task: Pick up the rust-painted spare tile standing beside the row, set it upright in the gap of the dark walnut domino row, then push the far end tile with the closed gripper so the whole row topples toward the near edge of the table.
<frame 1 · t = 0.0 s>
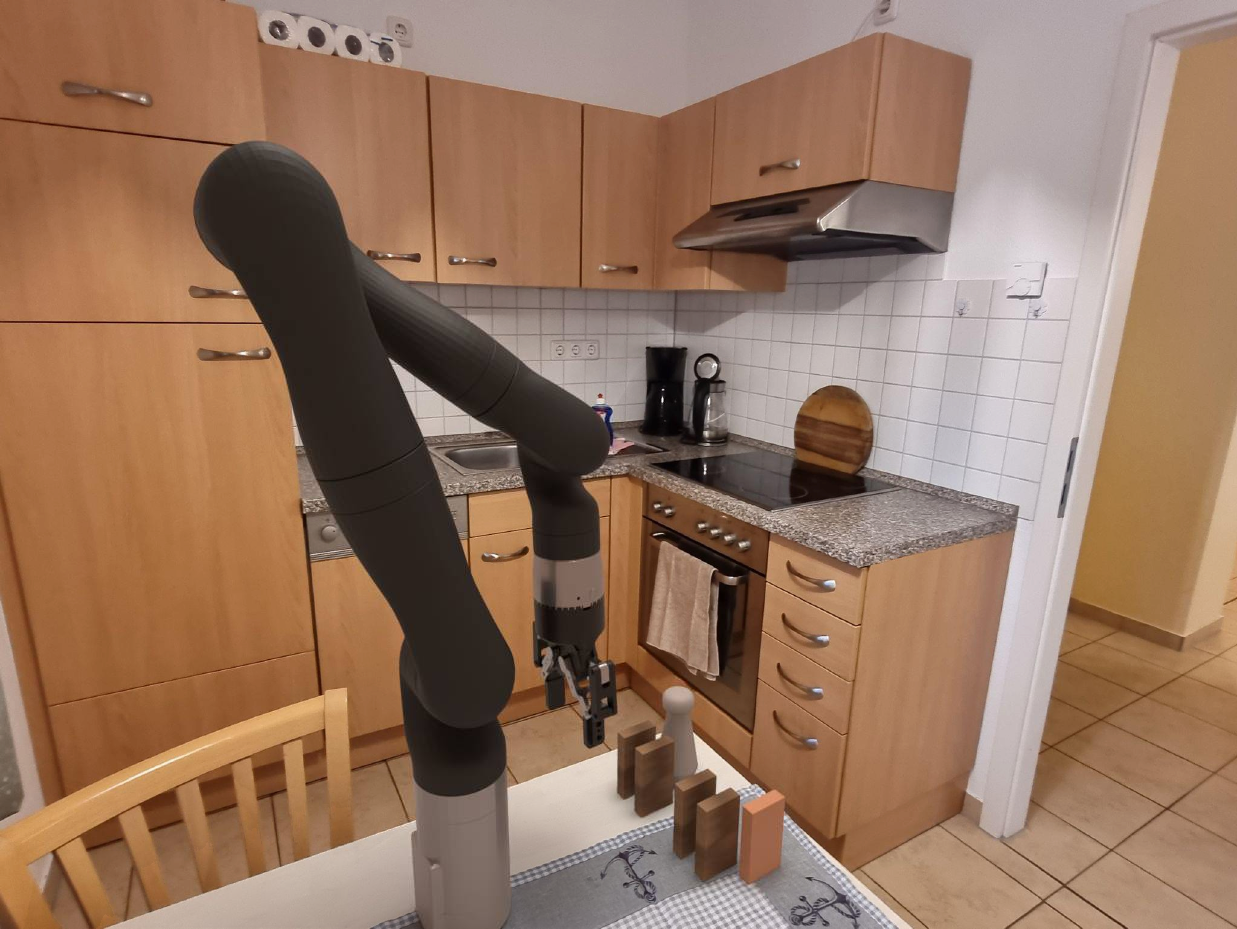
hand: (574, 725, 77), 17 cm above the table, tool pointing down, fingers open, 8 cm apart
domino 4: (693, 846, 82), on the table
domino 1: (636, 789, 92), on the table
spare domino: (759, 870, 79), on the table
domino 5: (715, 868, 79), on the table
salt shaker: (676, 778, 94), on the table
domino 2: (653, 806, 89), on the table
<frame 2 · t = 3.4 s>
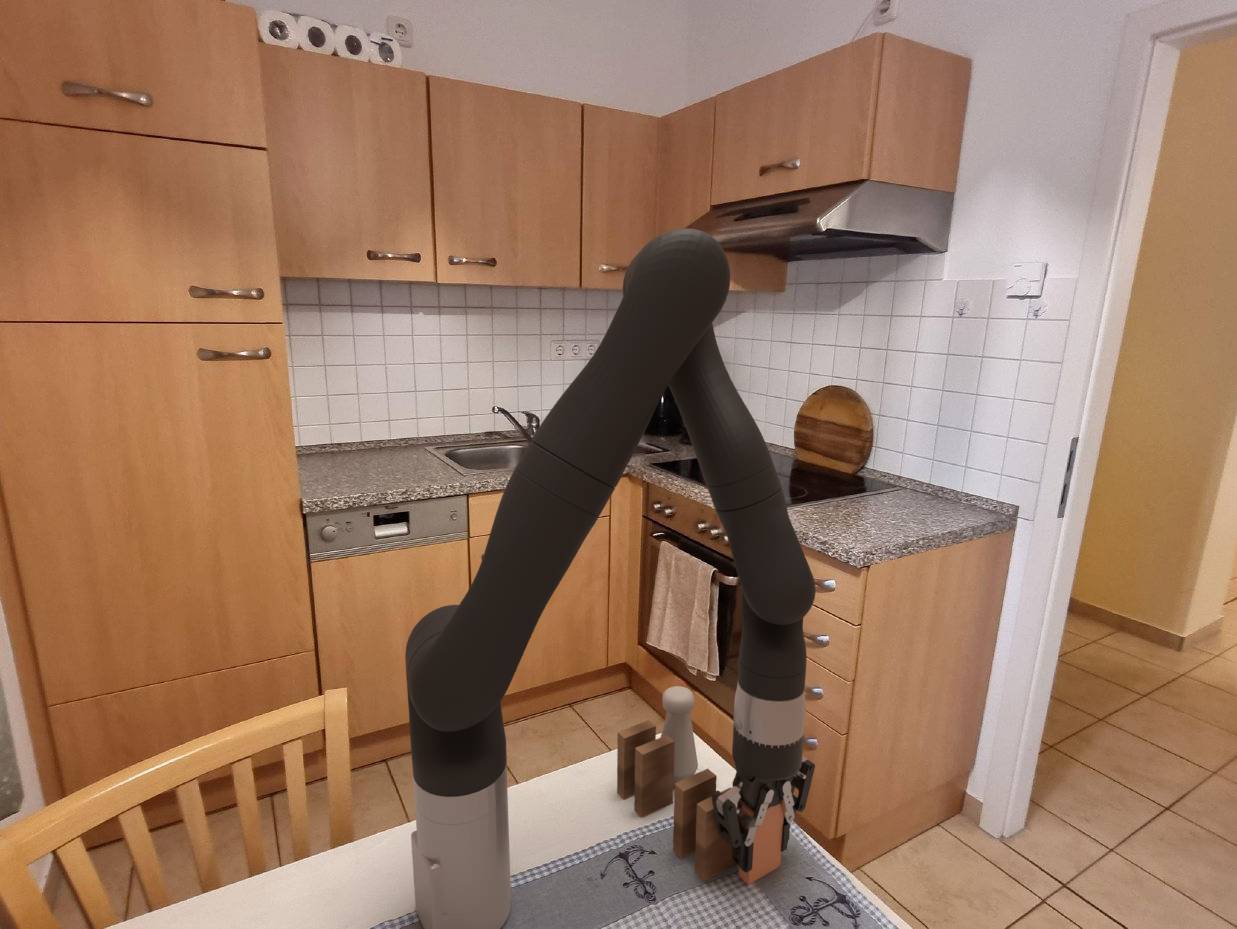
hand: (760, 855, 78), 2 cm above the table, tool pointing down, fingers closed on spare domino, 5 cm apart
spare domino: (759, 870, 79), on the table, touching gripper
everything else where it was.
when the fingers open (3 cm above the table, at t = 8.8 s): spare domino stays where it is, on the table.
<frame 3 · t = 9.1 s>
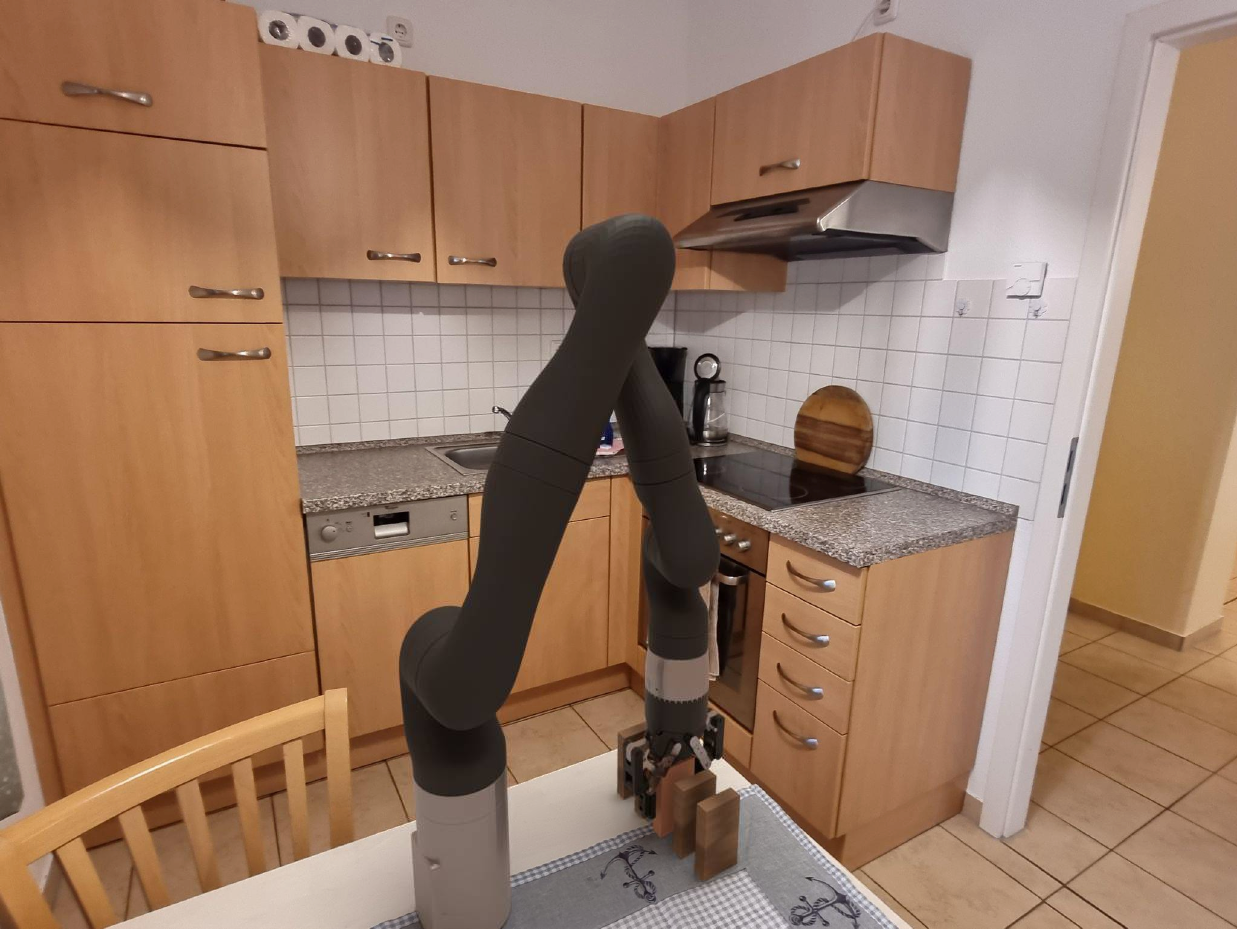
hand: (673, 803, 85), 3 cm above the table, tool pointing down, fingers open, 7 cm apart
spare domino: (672, 825, 86), on the table
everything else where it was.
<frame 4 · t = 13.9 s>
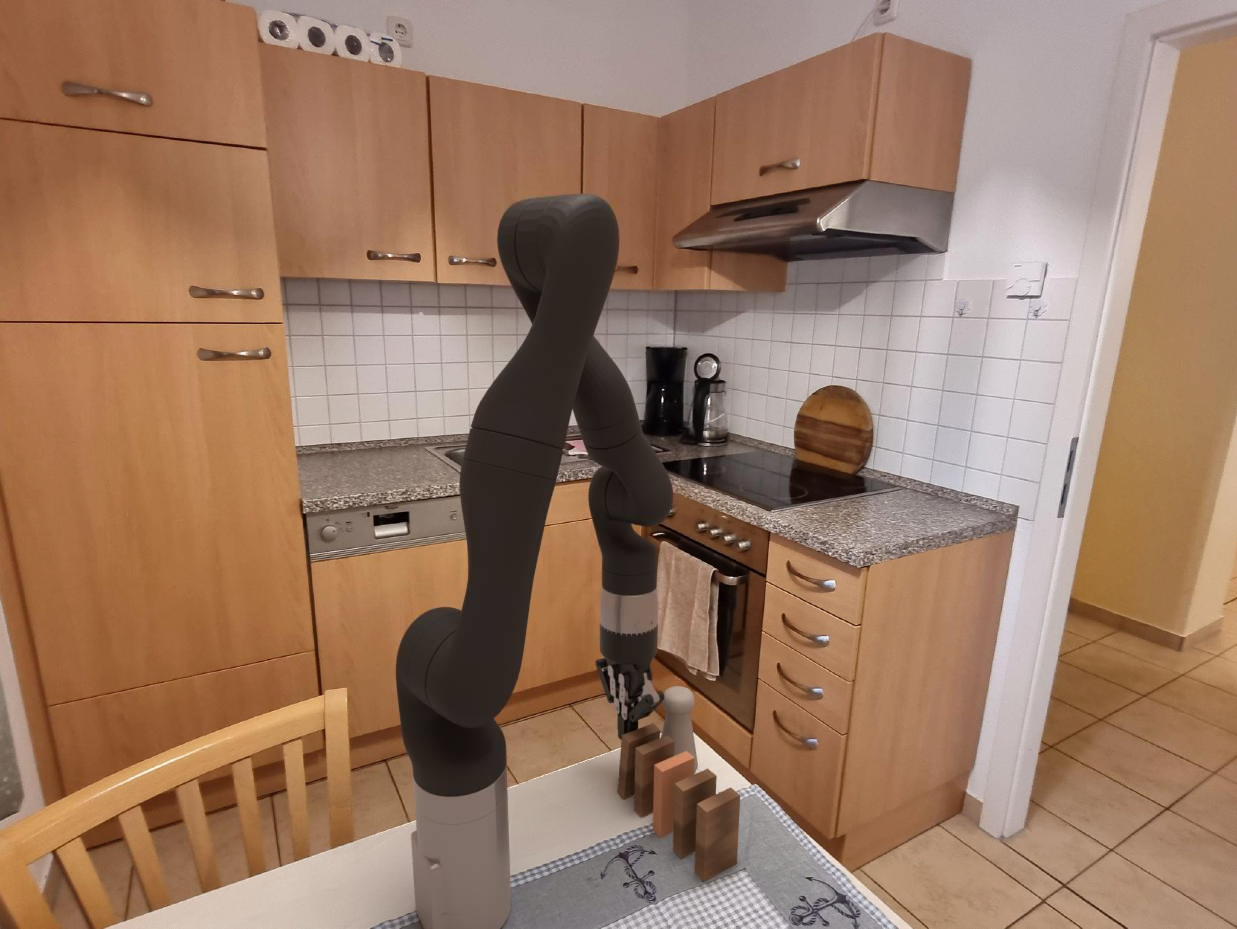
hand: (627, 738, 92), 6 cm above the table, tool pointing down, fingers closed
domino 1: (636, 788, 92), on the table, tilted 6°, touching gripper
everything else where it was.
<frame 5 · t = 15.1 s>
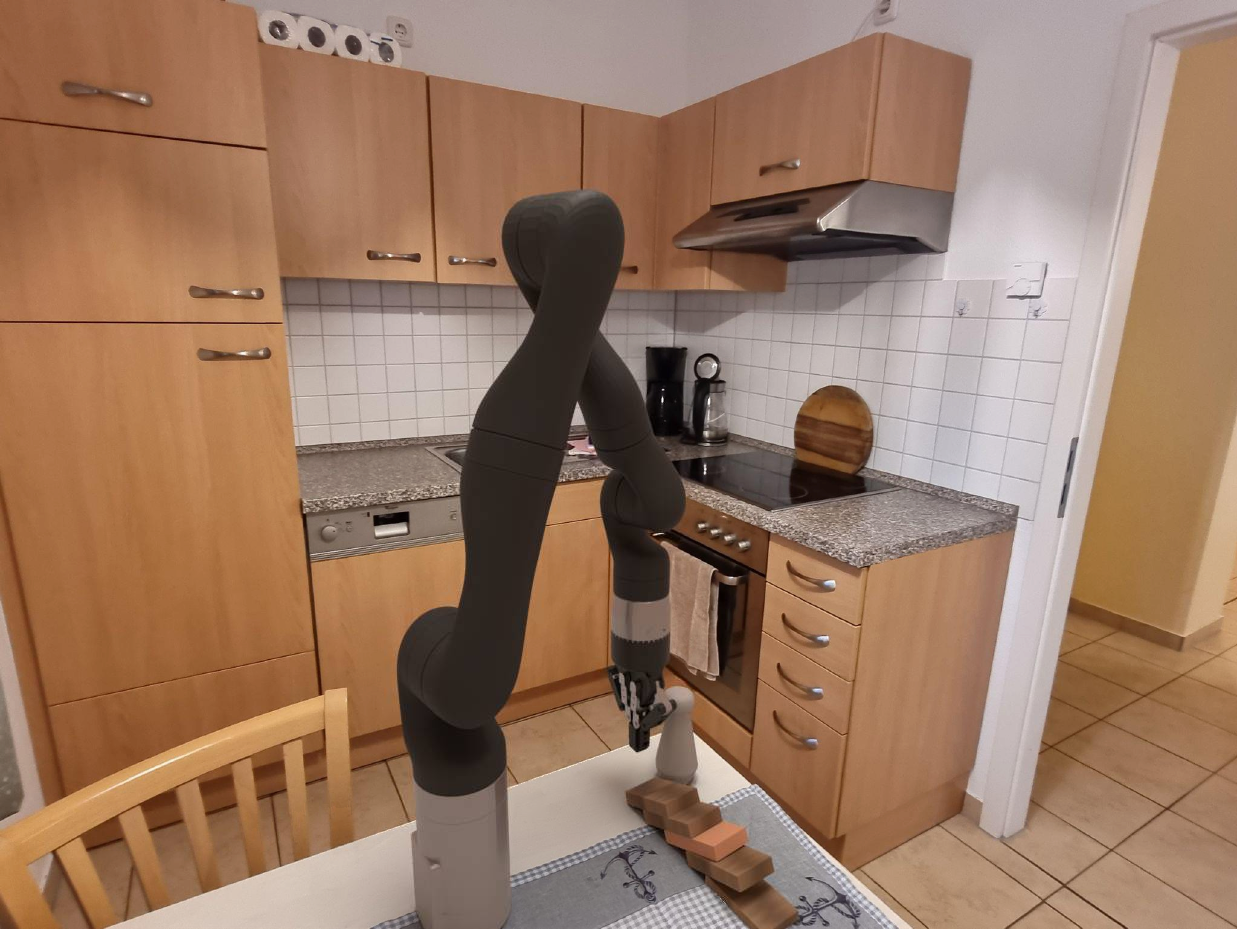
hand: (638, 747, 90), 6 cm above the table, tool pointing down, fingers closed
domino 4: (703, 849, 81), point 1 cm above the table, tilted 69°, touching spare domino
domino 1: (641, 790, 91), point 1 cm above the table, tilted 67°, touching domino 2
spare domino: (680, 826, 84), point 1 cm above the table, tilted 68°, touching domino 2, domino 4
domino 5: (722, 871, 78), on the table, tilted 90°
domino 2: (659, 808, 87), point 1 cm above the table, tilted 67°, touching domino 1, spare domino
everything else where it was.
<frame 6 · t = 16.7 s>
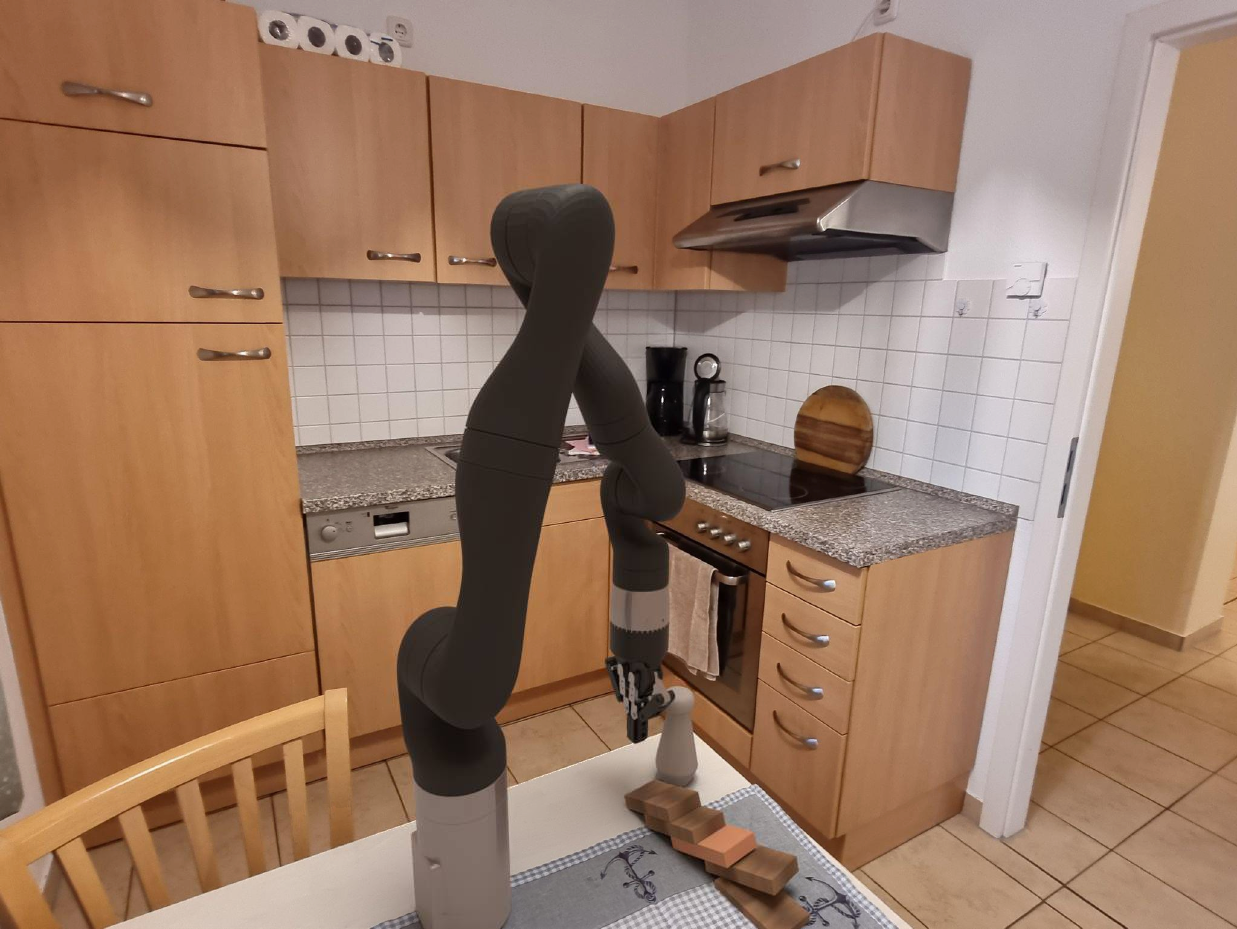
hand: (636, 739, 90), 8 cm above the table, tool pointing down, fingers closed
domino 4: (718, 853, 80), point 1 cm above the table, tilted 73°, touching domino 5, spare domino
domino 1: (640, 793, 90), point 1 cm above the table, tilted 68°, touching domino 2
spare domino: (686, 832, 83), point 1 cm above the table, tilted 68°, touching domino 2, domino 4
domino 5: (730, 875, 78), on the table, tilted 90°, touching domino 4
domino 2: (660, 812, 87), point 1 cm above the table, tilted 69°, touching domino 1, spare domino
everything else where it was.
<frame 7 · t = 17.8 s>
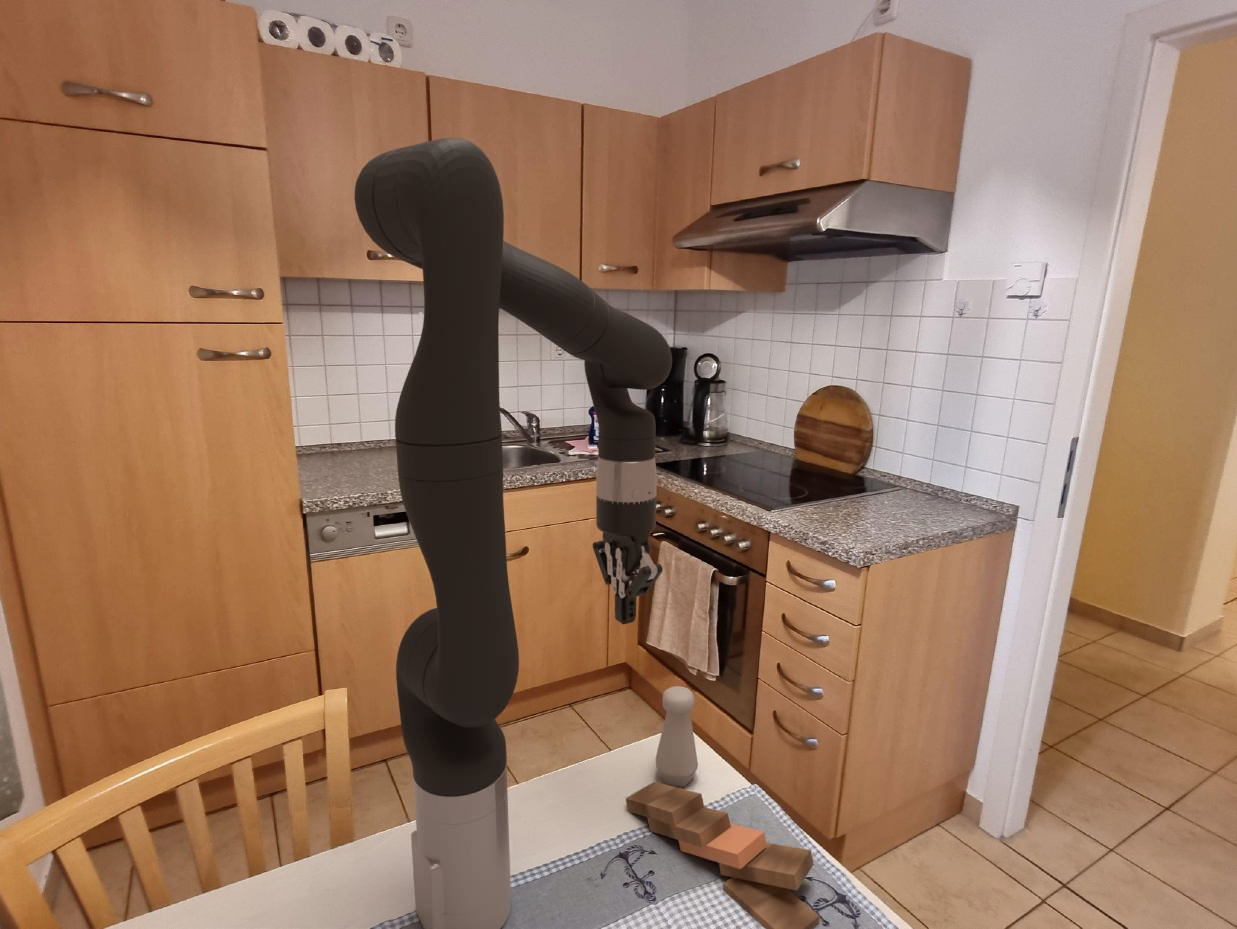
hand: (625, 620, 90), 23 cm above the table, tool pointing down, fingers closed
domino 4: (729, 855, 79), point 1 cm above the table, tilted 73°, touching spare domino
domino 1: (641, 796, 89), point 1 cm above the table, tilted 69°, touching domino 2
domino 5: (738, 878, 77), on the table, tilted 90°
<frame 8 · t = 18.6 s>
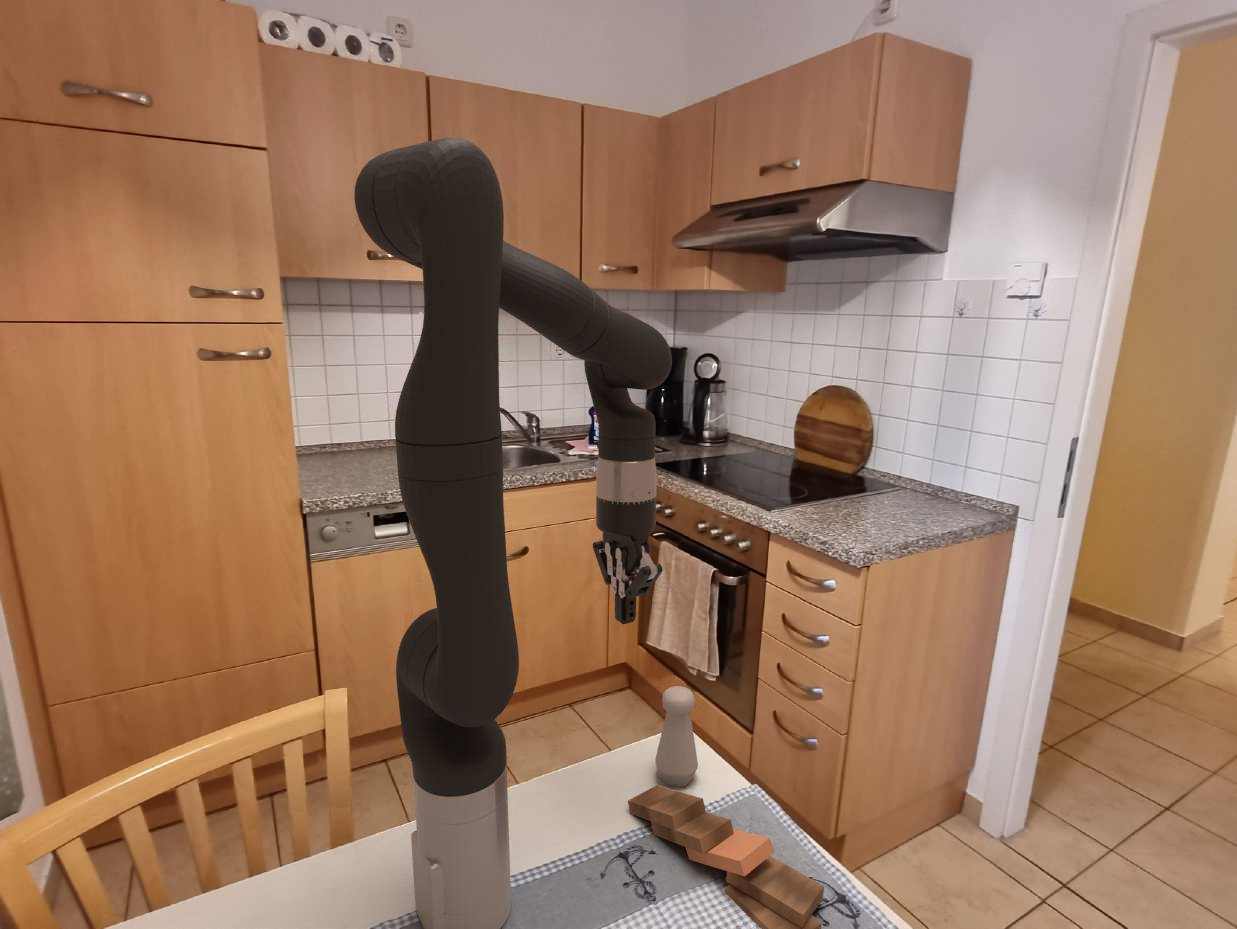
hand: (625, 620, 90), 23 cm above the table, tool pointing down, fingers closed
domino 4: (738, 862, 78), point 2 cm above the table, tilted 90°, touching domino 5, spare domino
domino 1: (644, 798, 89), point 1 cm above the table, tilted 69°, touching domino 2
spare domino: (702, 841, 82), point 1 cm above the table, tilted 66°, touching domino 2, domino 4
domino 5: (741, 882, 77), on the table, tilted 90°, touching domino 4
at the end: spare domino tilted 65°; domino 5 tilted 90° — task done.
